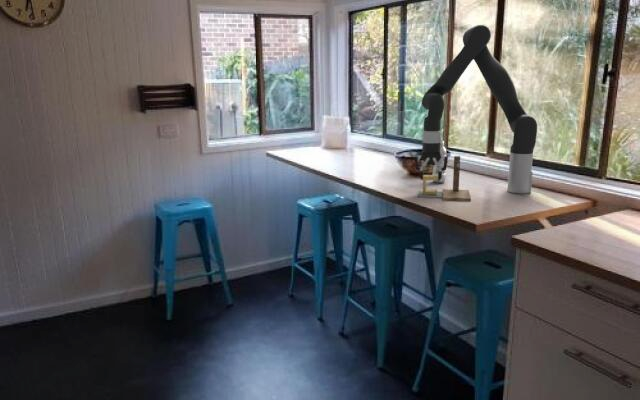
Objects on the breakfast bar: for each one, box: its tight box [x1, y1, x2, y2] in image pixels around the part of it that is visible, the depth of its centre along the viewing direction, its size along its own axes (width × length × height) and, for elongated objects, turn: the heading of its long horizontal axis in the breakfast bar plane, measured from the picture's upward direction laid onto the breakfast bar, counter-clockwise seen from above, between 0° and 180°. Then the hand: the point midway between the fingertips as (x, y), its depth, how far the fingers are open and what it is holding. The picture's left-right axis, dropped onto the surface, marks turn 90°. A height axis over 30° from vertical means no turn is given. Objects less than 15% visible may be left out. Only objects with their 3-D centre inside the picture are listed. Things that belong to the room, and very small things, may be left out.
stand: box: [442, 155, 472, 202], centre depth 214 cm, size 11×15×16 cm
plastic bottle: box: [431, 140, 447, 184], centre depth 240 cm, size 6×7×20 cm
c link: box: [422, 174, 438, 195], centre depth 219 cm, size 6×4×8 cm, turn 77°
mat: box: [417, 190, 443, 199], centre depth 220 cm, size 10×10×1 cm
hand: (430, 179), depth 218 cm, fingers open, 6 cm apart
